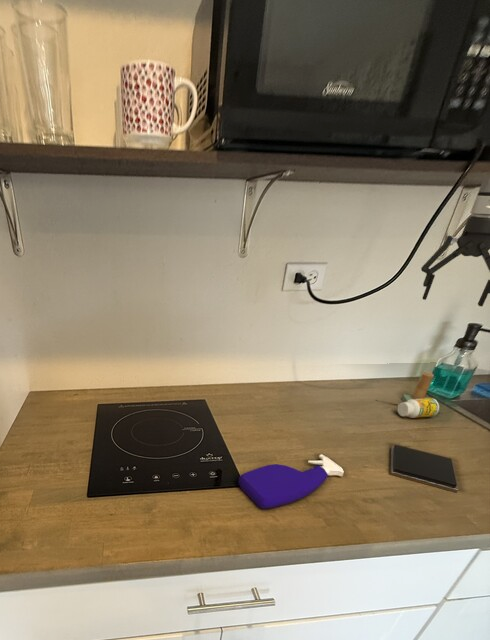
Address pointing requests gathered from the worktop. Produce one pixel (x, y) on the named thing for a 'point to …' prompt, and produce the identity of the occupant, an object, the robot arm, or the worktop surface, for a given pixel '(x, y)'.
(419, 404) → the supplement bottle
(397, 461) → the flat black square slab
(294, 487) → the spray bottle
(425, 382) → the brush
